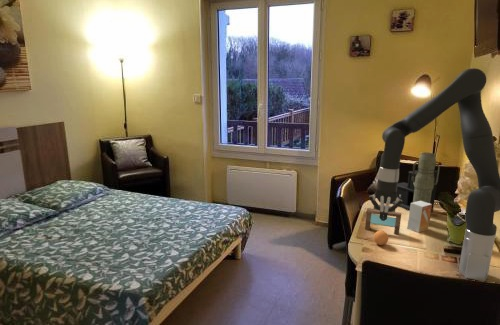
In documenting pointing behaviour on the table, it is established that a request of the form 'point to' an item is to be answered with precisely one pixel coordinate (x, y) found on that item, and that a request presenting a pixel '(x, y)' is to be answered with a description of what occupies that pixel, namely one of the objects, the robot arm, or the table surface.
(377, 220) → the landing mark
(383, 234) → the ball
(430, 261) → the table surface
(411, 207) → the small box
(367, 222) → the bridge
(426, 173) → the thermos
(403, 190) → the black drawer cabinet
